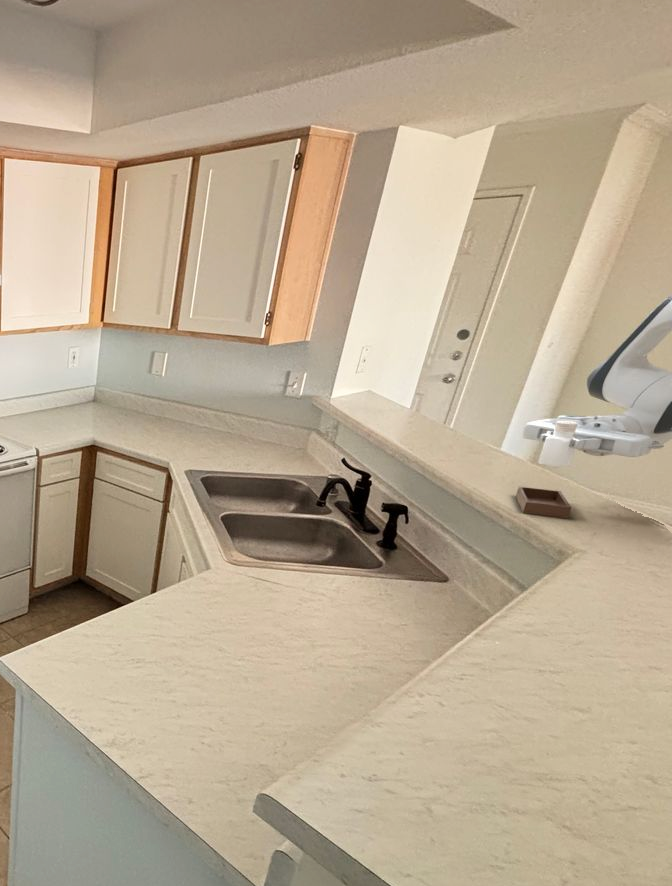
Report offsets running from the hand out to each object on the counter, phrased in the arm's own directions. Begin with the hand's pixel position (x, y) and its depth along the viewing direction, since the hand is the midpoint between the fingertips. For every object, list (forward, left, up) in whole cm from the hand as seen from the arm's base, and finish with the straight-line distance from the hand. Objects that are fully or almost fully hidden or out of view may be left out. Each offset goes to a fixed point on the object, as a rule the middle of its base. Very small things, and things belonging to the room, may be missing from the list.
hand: (558, 441), depth 125 cm
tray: (-1, 0, -15) cm, 15 cm away
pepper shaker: (-1, -1, -6) cm, 6 cm away
